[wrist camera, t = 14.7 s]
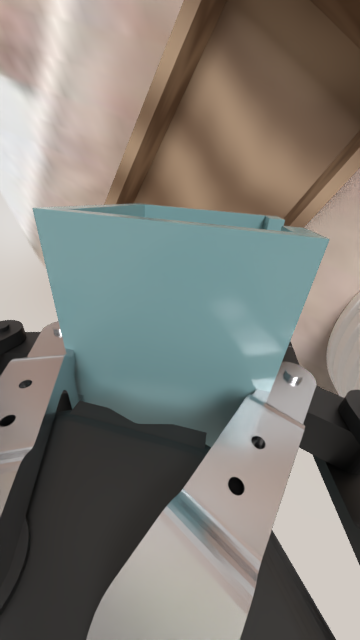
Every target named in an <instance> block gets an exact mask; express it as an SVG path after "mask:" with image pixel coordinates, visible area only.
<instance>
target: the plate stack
mask: <svg viewBox="0 0 360 640" xmlns="http://www.w3.org/2000/svg"><path fill="white" fill-rule="evenodd" d="M326 361H327V369H328V373H329V376H330V379H331V381H332V383H333V385H334V387H335V389H336V391H337V392H338V395H339V396H341V397H343V398H344V397H345V396H346V394H347V393H348V392H349V391H351V390H360V291H359V292H358V293H357V294H356V295H355V296H354V298H353V299H352V300H351V301H350V302H349V304H348V305H347V306H346V307H345V309H344V310H343V312H342V313H341V315H340V316H339V318H338V320H337V322H336V323H335V325H334V328H333V330H332V332H331V335H330V338H329V342H328V346H327V354H326Z"/></svg>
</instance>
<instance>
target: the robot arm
mask: <svg viewBox="0 0 360 640" xmlns="http://www.w3.org/2000/svg"><path fill="white" fill-rule="evenodd" d="M75 365H76V357H75V353H74V350H71V349H67V348H65V347H64V342H63V338H62V334H61V329H60V325H59V321H58V322H54V323H51V324H50V325H47V326H46V327H44V328H43V330H42V331H41V332H25V331H24V328H23V325H22V323H21V322H19V321H15V320H7V321H6V320H5V321H0V640H336V639H335V637H334V635H333V634H332V632H331V630H330V629H329V627H328V625H327V623H326V622H325V620H324V618H323V617H322V615H321V613H320V611H319V610H318V608H317V606H316V605H315V603H314V601H313V599H312V598H311V596H310V594H309V593H308V591H307V589H306V588H305V586H304V584H303V582H302V581H301V579H300V577H299V575H298V574H297V572H296V570H295V569H294V567H293V566H292V563H291V562H290V560H289V558H288V557H287V555H286V553H285V552H284V550H283V548H282V546H281V545H280V543H279V541H278V539H277V538H276V536H275V534H274V533H273V531H272V528H273V524H274V521H275V518H276V515H277V512H278V509H279V506H280V503H281V500H282V497H283V494H284V491H285V488H286V485H287V481H288V478H289V476H290V473H291V469H292V466H293V463H294V460H295V457H296V454H297V451H298V448H299V447H300V448H301V449H303V450H305V451H307V452H309V453H311V454H313V457H314V459H315V462H316V464H317V466H318V469H319V471H320V473H321V476H322V478H323V480H324V483H325V485H326V487H327V490H328V492H329V494H330V497H331V499H332V502H333V504H334V506H335V508H336V511H337V513H338V516H339V518H340V520H341V523H342V525H343V527H344V529H345V532H346V534H347V537H348V539H349V541H350V544H351V546H352V548H353V551H354V553H355V555H356V558H357V560H358V562H359V565H360V390H351V391H349V392H348V393H347V394H346V396H345V397H344V398H343V397H341V396H338V395H336V394H333V393H331V392H329V391H326V390H324V389H322V388H320V387H318V386H316V380H315V378H314V376H313V375H312V374H311V373H310V372H309V371H308V370H306V369H305V368H303V367H301V366H299V363H298V360H297V358H296V355H295V352H294V350H293V348H292V344H291V342H289V345H288V348H287V350H286V353H285V355H284V358H283V360H282V363H281V366H280V368H279V371H278V373H277V376H276V378H275V381H274V384H273V386H272V389H271V391H270V392H268V391H263V390H259V389H257V390H256V391H255V393H254V394H253V396H252V395H251V394H249V395H248V396H247V397H246V398H245V400H244V401H243V403H242V404H241V406H240V407H239V408H238V410H237V411H236V413H235V414H234V416H233V417H232V419H231V420H230V421H229V423H228V424H227V426H226V427H225V429H224V430H223V432H222V433H221V435H220V436H219V437H218V439H217V440H216V442H215V443H214V445H213V446H212V448H211V447H210V446H208V445H206V444H205V442H206V435H207V433H206V432H202V431H198V430H194V429H190V428H186V427H182V426H178V425H174V424H137V423H134V422H132V421H131V420H129V419H127V418H125V417H124V416H122V415H120V414H118V413H117V412H115V411H113V410H111V409H110V408H107V407H103V406H99V405H95V404H91V403H87V402H85V400H84V395H80V394H78V393H77V389H76V385H75V380H74V370H75Z"/></svg>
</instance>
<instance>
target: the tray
mask: <svg viewBox="0 0 360 640" xmlns="http://www.w3.org/2000/svg"><path fill="white" fill-rule="evenodd" d="M359 168H360V0H184V1H183V4H182V6H181V9H180V12H179V14H178V17H177V19H176V22H175V24H174V27H173V30H172V32H171V35H170V37H169V40H168V42H167V45H166V47H165V50H164V53H163V55H162V58H161V60H160V63H159V65H158V68H157V71H156V73H155V76H154V78H153V81H152V83H151V86H150V88H149V91H148V94H147V96H146V99H145V101H144V104H143V106H142V109H141V111H140V114H139V117H138V119H137V122H136V124H135V127H134V129H133V132H132V135H131V137H130V140H129V142H128V145H127V147H126V150H125V152H124V155H123V158H122V160H121V163H120V165H119V168H118V170H117V173H116V176H115V178H114V181H113V183H112V186H111V188H110V191H109V193H108V196H107V199H106V201H105V204H104V205H112V204H135V203H140V204H151V205H161V206H172V207H183V208H194V209H204V210H215V211H226V212H237V213H247V214H258V215H269V216H278V217H280V218H282V219H284V220H285V222H284V226H291V227H301V228H304V227H305V225H306V224H307V223H308V222H309V221H310V220H311V219H312V218H313V217H314V216H315V215H316V214H317V213H318V212H319V211H320V209H321V208H322V207H323V206H324V205H325V204H326V203H327V202H328V201H329V200H330V199H331V198H332V197H333V196H334V195H335V194H336V192H337V191H338V190H339V189H340V188H341V187H342V186H343V185H344V184H345V183H346V182H347V181H348V180H349V179H350V178H351V176H352V175H353V174H354V173H355V172H356V171H357V170H358V169H359Z"/></svg>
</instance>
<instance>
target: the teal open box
mask: <svg viewBox="0 0 360 640" xmlns="http://www.w3.org/2000/svg"><path fill="white" fill-rule="evenodd" d="M33 212H34V217H35V221H36V225H37V230H38V234H39V238H40V243H41V247H42V251H43V256H44V260H45V264H46V269H47V273H48V277H49V282H50V286H51V290H52V295H53V299H54V303H55V308H56V312H57V316H58V321H59V325H60V329H61V334H62V338H63V342H64V347H65V348H67V349H71V350H74V353H75V357H76V365H75V370H74V380H75V385H76V389H77V393H78V394H80V395H84V400H85V402H87V403H91V404H95V405H99V406H103V407H107V408H110V409H111V410H113V411H115V412H117V413H118V414H120V415H122V416H124V417H125V418H127V419H129V420H131V421H132V422H134V423H137V424H174V425H178V426H182V427H186V428H190V429H194V430H198V431H202V432H206V433H207V435H206V442H205V444H206V445H208V446H210V447H211V448H212V446H213V445H214V443H215V442H216V440H217V439H218V437H219V436H220V435H221V433H222V432H223V430H224V429H225V427H226V426H227V424H228V423H229V421H230V420H231V419H232V417H233V416H234V414H235V413H236V411H237V410H238V408H239V407H240V406H241V404H242V403H243V401H244V400H245V398H246V397H247V396H248V395H249V394H251V395H252V396H253V394H254V393H255V391H256V390H257V389H259V390H263V391H268V392H270V391H271V389H272V386H273V384H274V381H275V378H276V376H277V373H278V371H279V368H280V366H281V363H282V360H283V358H284V355H285V353H286V350H287V348H288V345H289V342H290V340H291V337H292V335H293V332H294V330H295V327H296V324H297V322H298V319H299V317H300V314H301V312H302V309H303V306H304V304H305V301H306V299H307V296H308V294H309V291H310V288H311V286H312V283H313V281H314V278H315V276H316V273H317V270H318V268H319V265H320V263H321V260H322V258H323V255H324V252H325V250H326V247H327V245H328V242H329V239H328V238H326V237H324V236H321V235H319V234H317V233H314V232H312V231H310V230H307V229H305V228H301V227H291V226H284V222H285V220H284V219H282V218H280V217H278V216H269V215H258V214H247V213H237V212H226V211H215V210H204V209H194V208H183V207H172V206H161V205H151V204H140V203H135V204H112V205H89V206H66V207H43V208H33Z"/></svg>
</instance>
